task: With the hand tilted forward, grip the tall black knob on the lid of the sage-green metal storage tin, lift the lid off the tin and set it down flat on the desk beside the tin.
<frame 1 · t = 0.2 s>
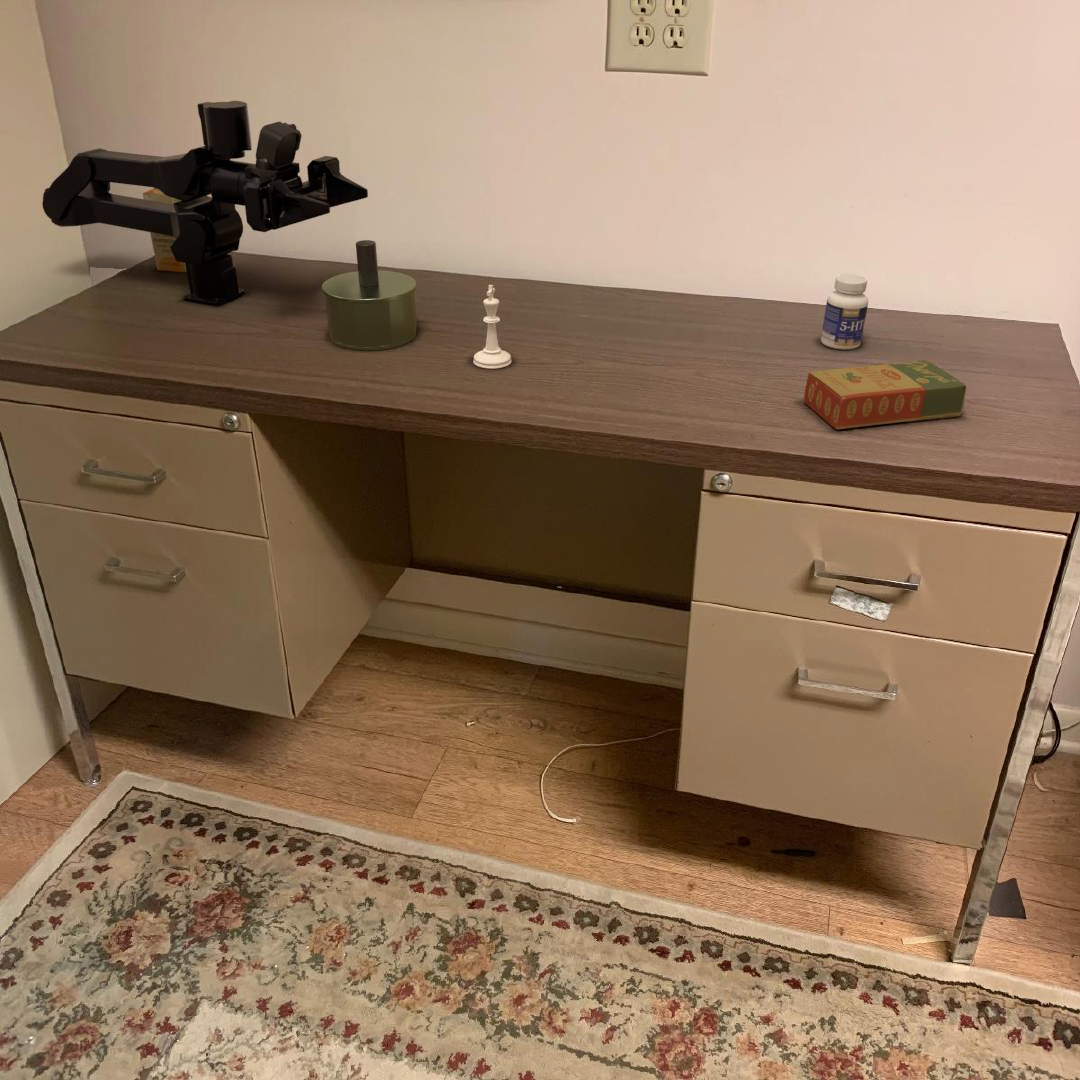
hand: (348, 201, 136), 17 cm above the table, tool horizontal, fingers open, 9 cm apart
carton: (880, 411, 120), on the table
tin: (373, 335, 140), on the table
chess piece: (492, 363, 132), on the table
pill bottle: (840, 344, 139), on the table
lid: (369, 288, 137), point 6 cm above the table, touching tin
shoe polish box: (179, 267, 167), on the table
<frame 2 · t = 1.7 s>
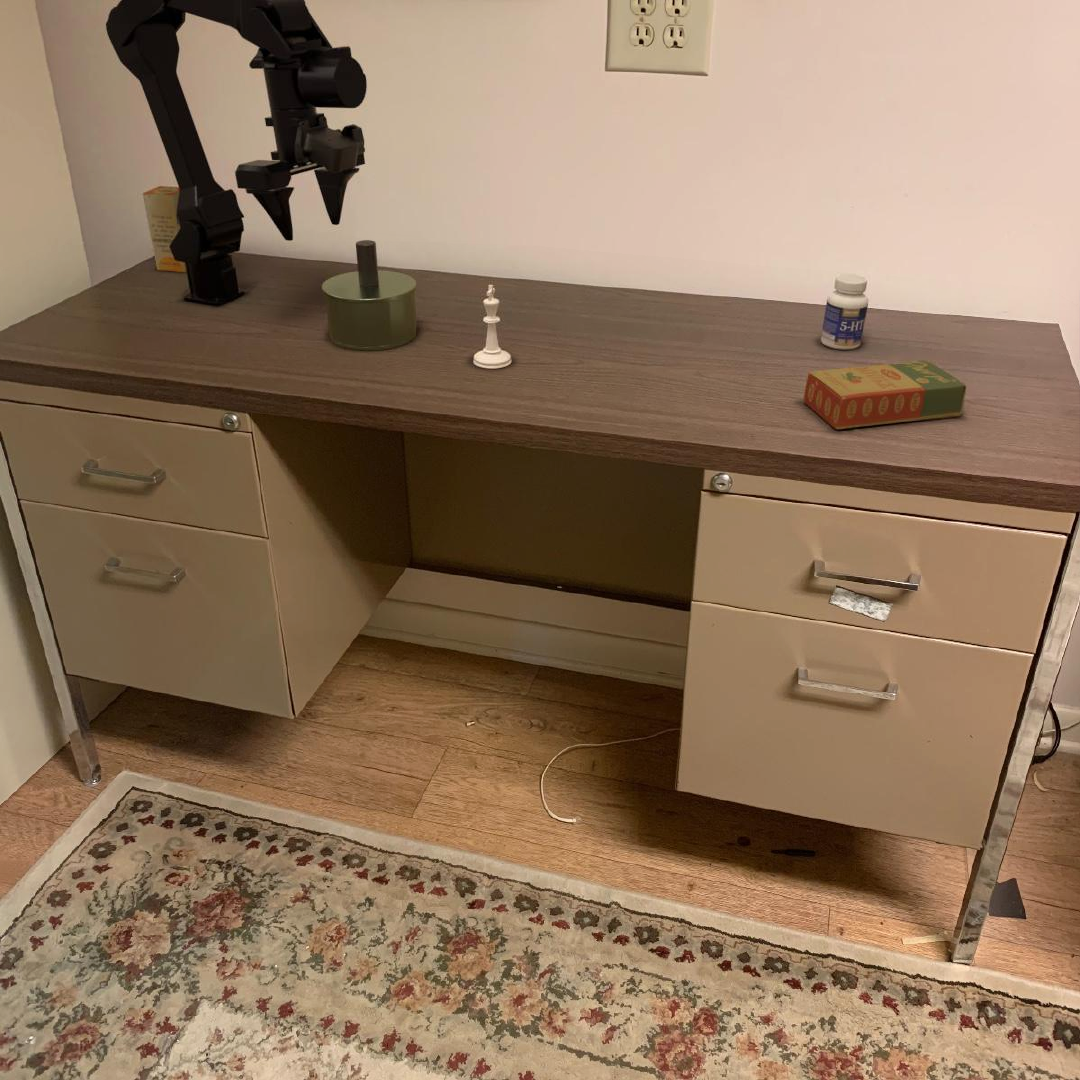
hand: (313, 232, 138), 13 cm above the table, tool pointing down, fingers open, 9 cm apart
nothing on the table moved.
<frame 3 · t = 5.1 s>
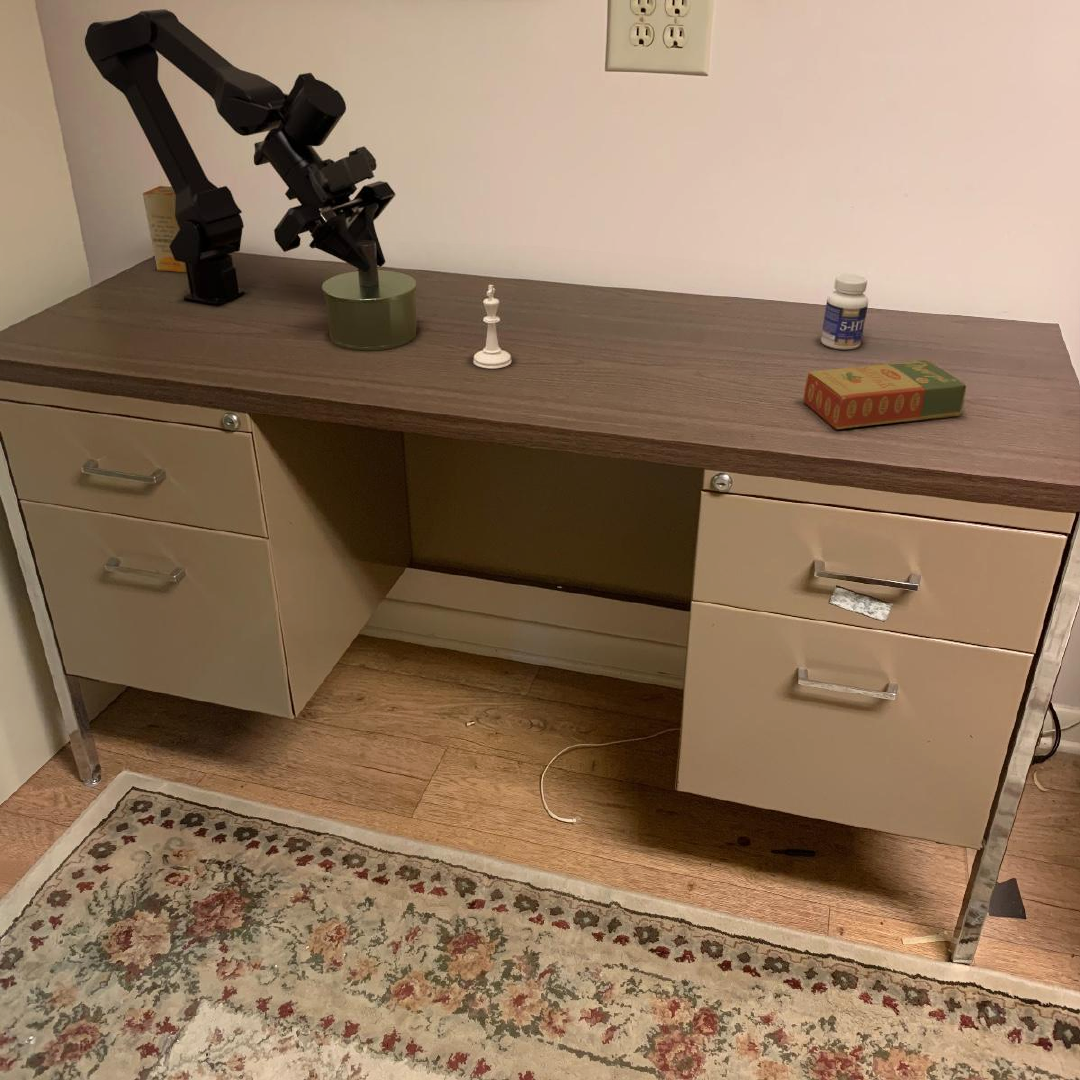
hand: (375, 267, 135), 10 cm above the table, tool tilted 45°, fingers closed on lid, 3 cm apart
lid: (369, 288, 137), point 7 cm above the table, touching gripper, tin
everything else where it was.
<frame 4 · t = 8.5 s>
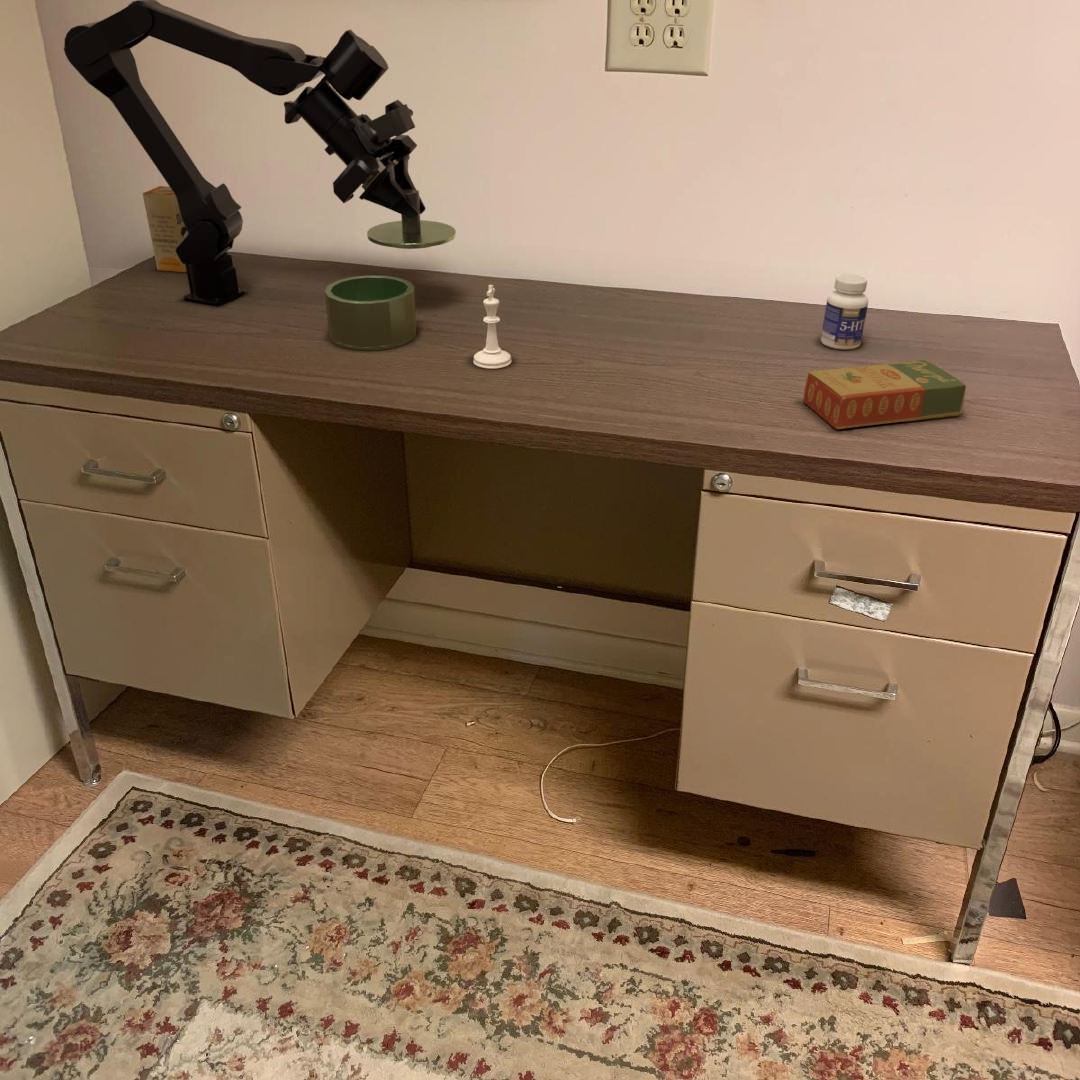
hand: (419, 214, 143), 13 cm above the table, tool tilted 45°, fingers closed on lid, 2 cm apart
lid: (411, 235, 145), point 10 cm above the table, touching gripper
everything else where it was.
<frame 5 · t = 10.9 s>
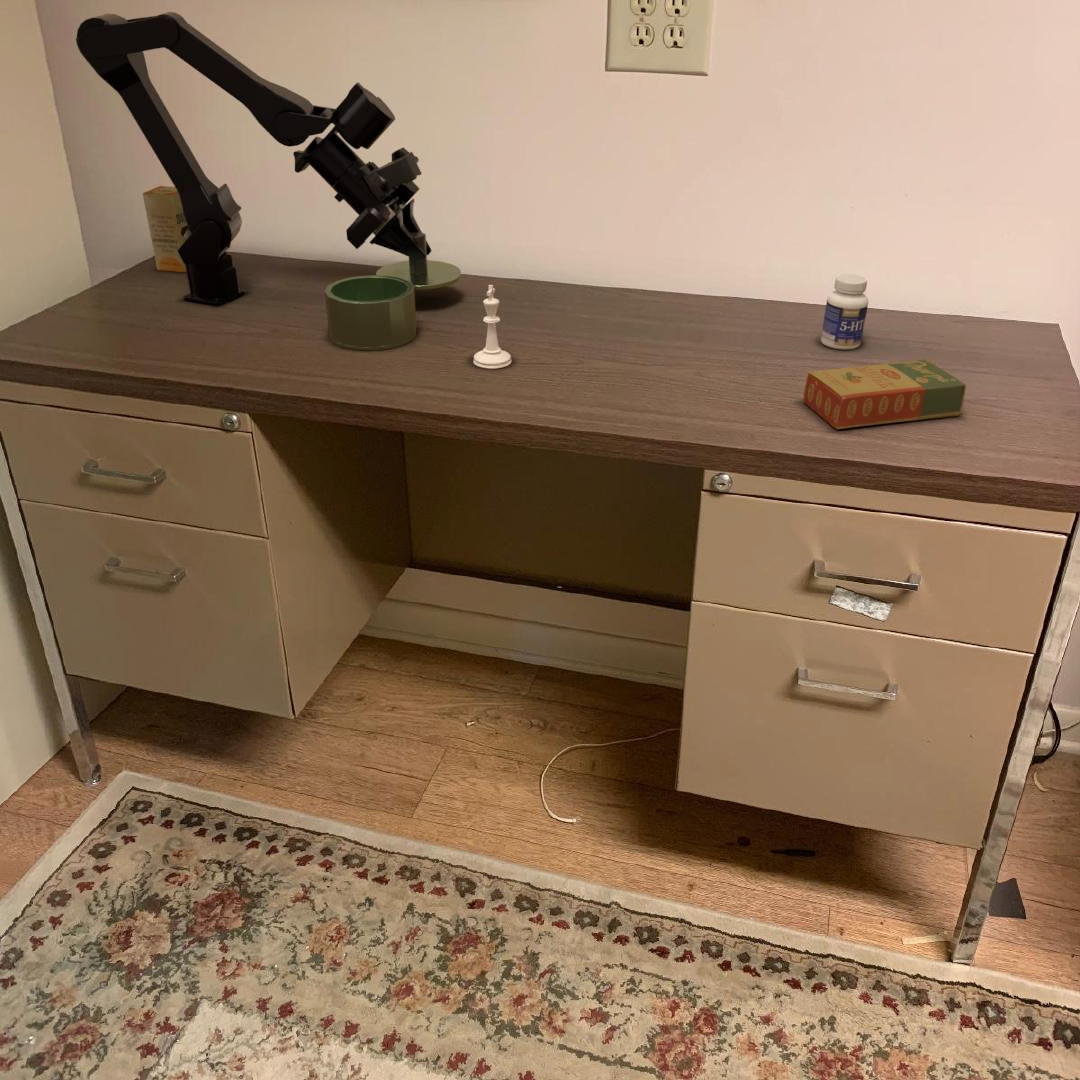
hand: (426, 256, 149), 7 cm above the table, tool tilted 45°, fingers closed on lid, 2 cm apart
lid: (418, 276, 150), point 4 cm above the table, touching gripper
everything else where it was.
when the fingers open (4 cm above the table, at t = 12.2 s): lid stays where it is, point 1 cm above the table.
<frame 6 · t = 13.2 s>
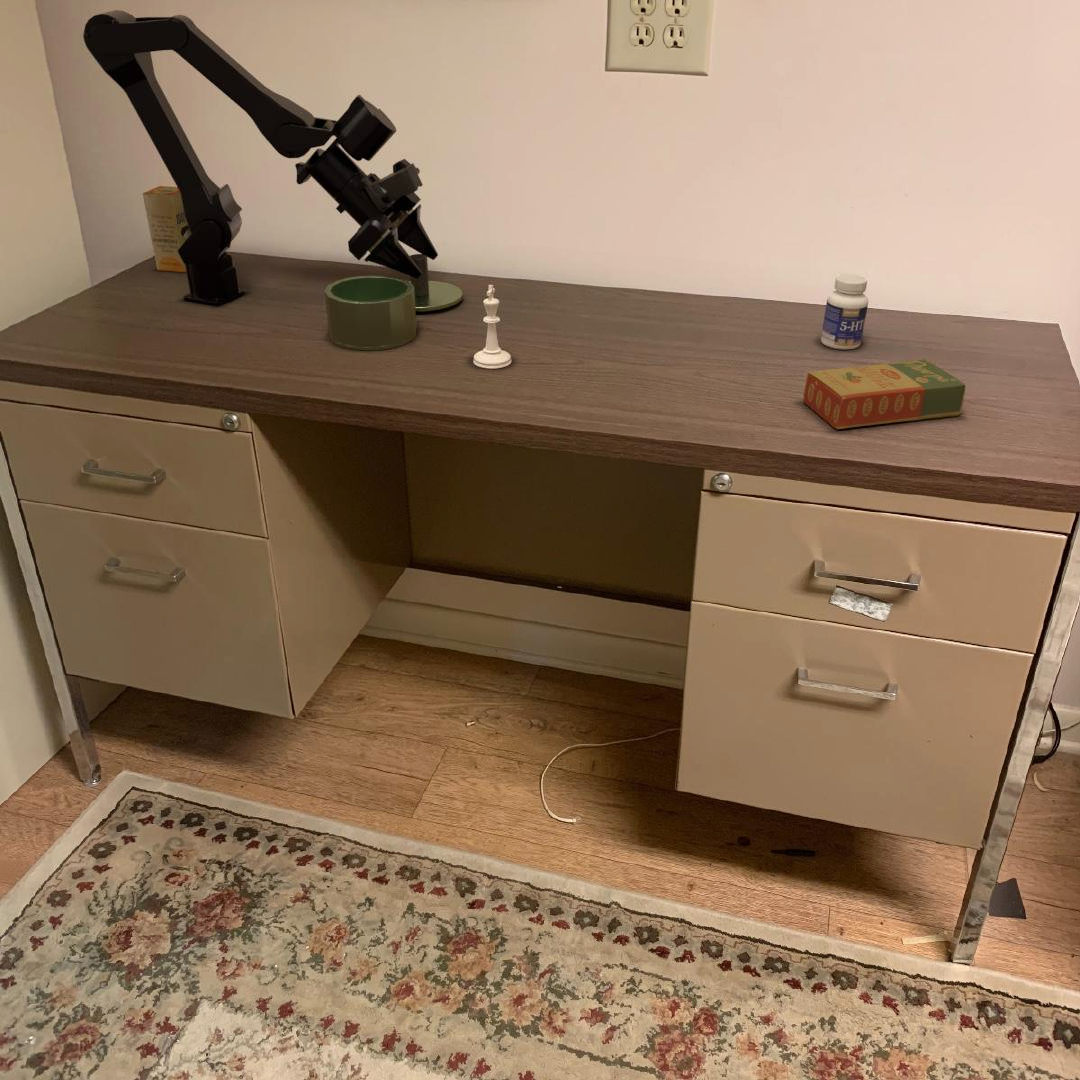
hand: (428, 266, 149), 5 cm above the table, tool tilted 45°, fingers open, 9 cm apart
lid: (420, 297, 152), point 1 cm above the table
everything else where it was.
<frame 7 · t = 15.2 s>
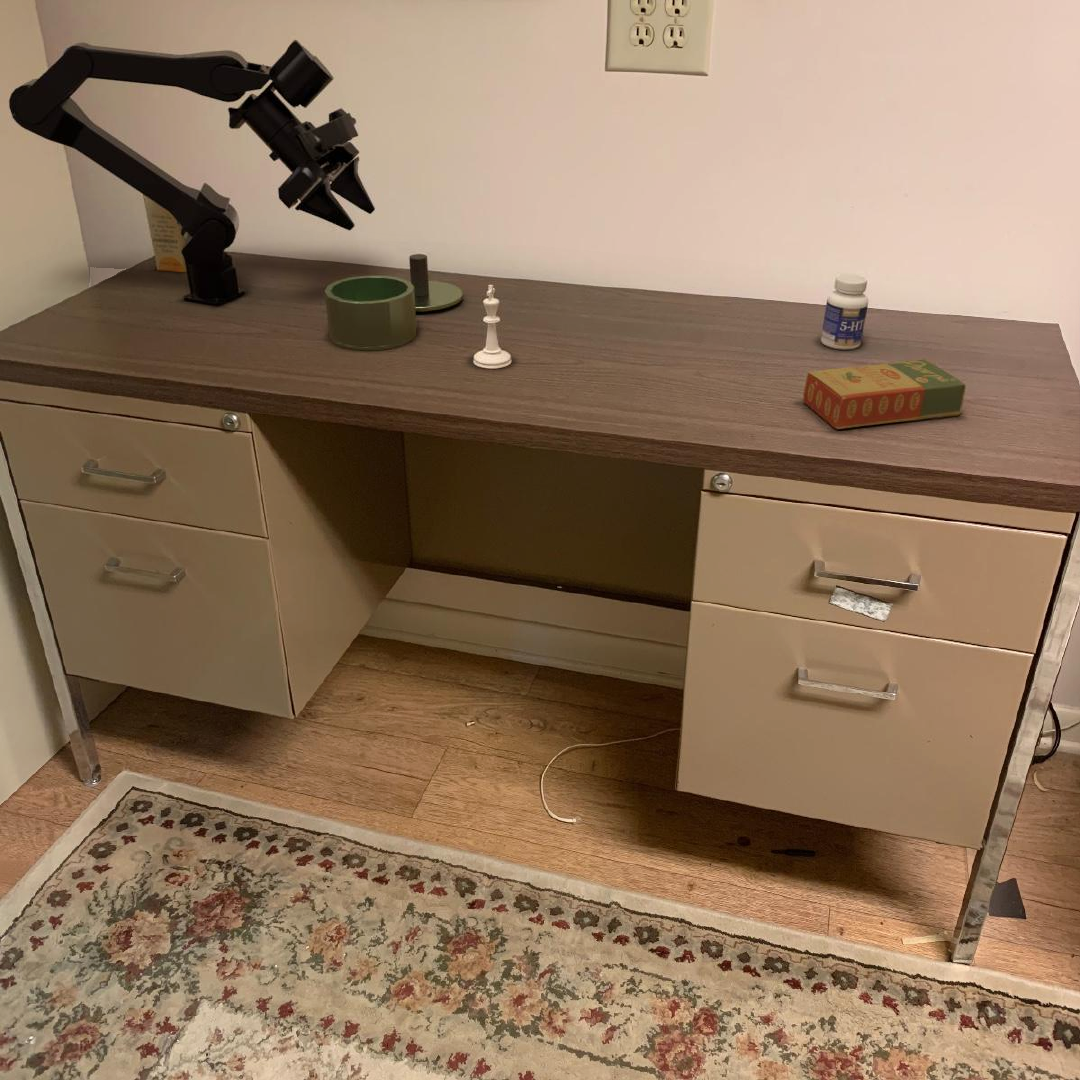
hand: (362, 219, 147), 12 cm above the table, tool tilted 45°, fingers open, 9 cm apart
nothing on the table moved.
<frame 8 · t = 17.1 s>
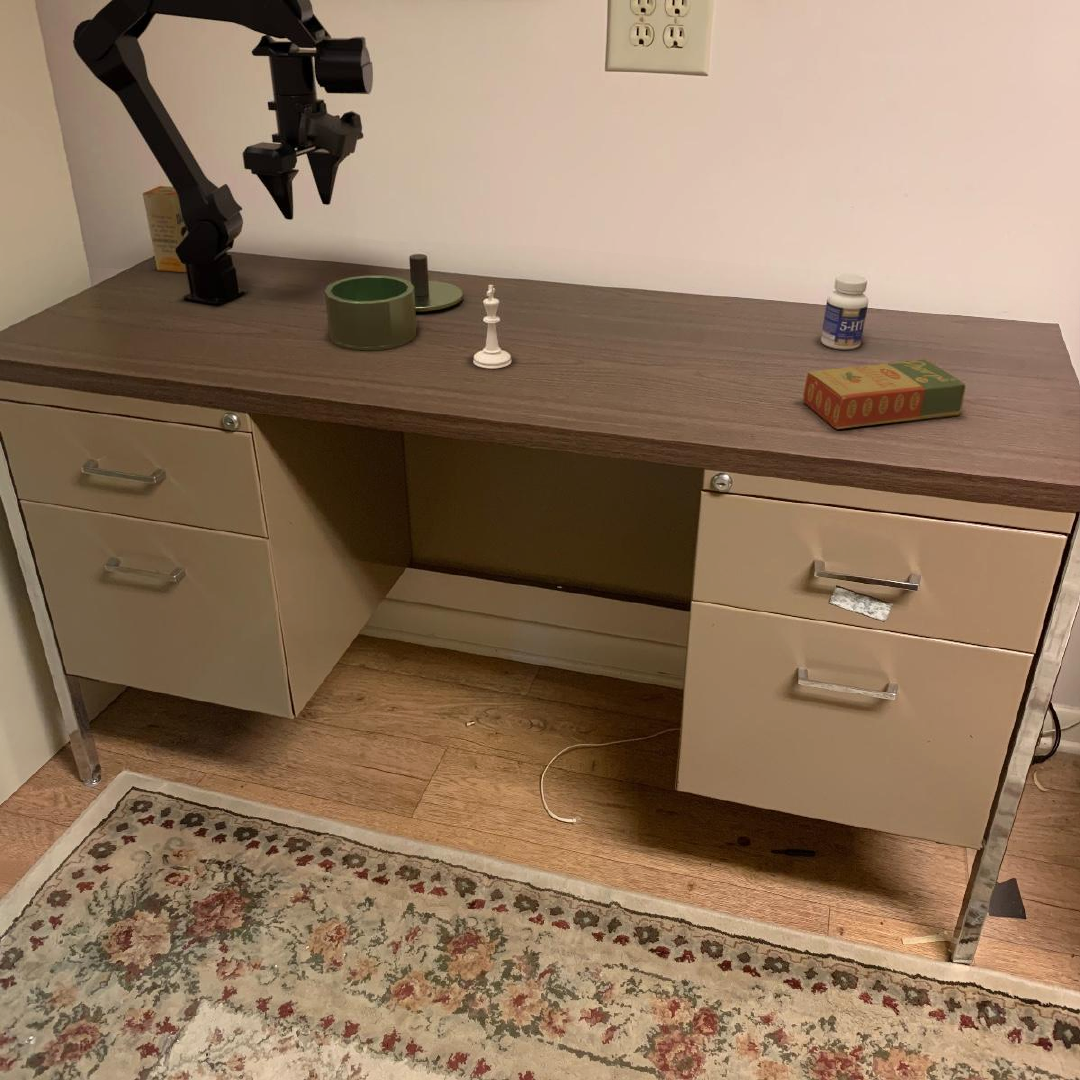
hand: (308, 211, 146), 13 cm above the table, tool pointing down, fingers open, 9 cm apart
nothing on the table moved.
at the end: lid inside the target area (0.2 cm from its centre), point 0.6 cm above the table; lid tilted 0°; the gripper is holding nothing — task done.
